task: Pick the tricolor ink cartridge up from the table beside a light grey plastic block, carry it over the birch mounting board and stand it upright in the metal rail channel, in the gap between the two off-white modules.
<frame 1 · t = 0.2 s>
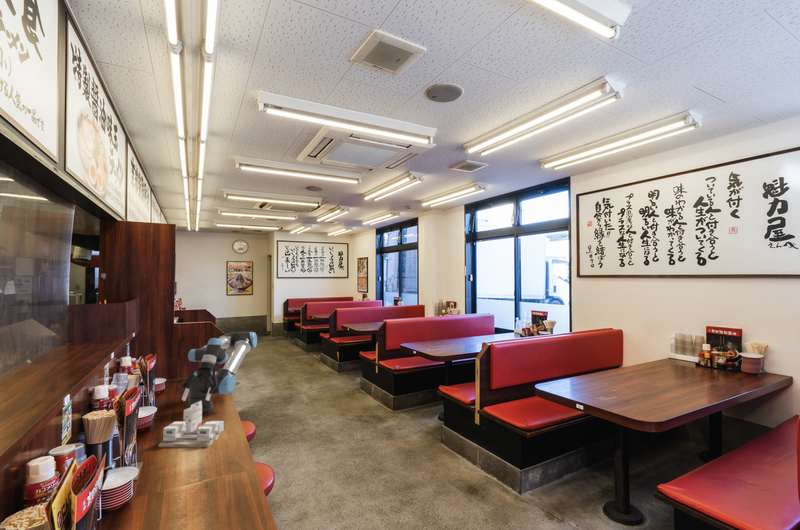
hand: (195, 400, 203), 15 cm above the counter, tool tilted 35°, fingers open, 13 cm apart
ink cartridge box: (192, 429, 201), on the counter
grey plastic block: (214, 432, 198), on the counter
mounting board: (191, 441, 186), on the counter
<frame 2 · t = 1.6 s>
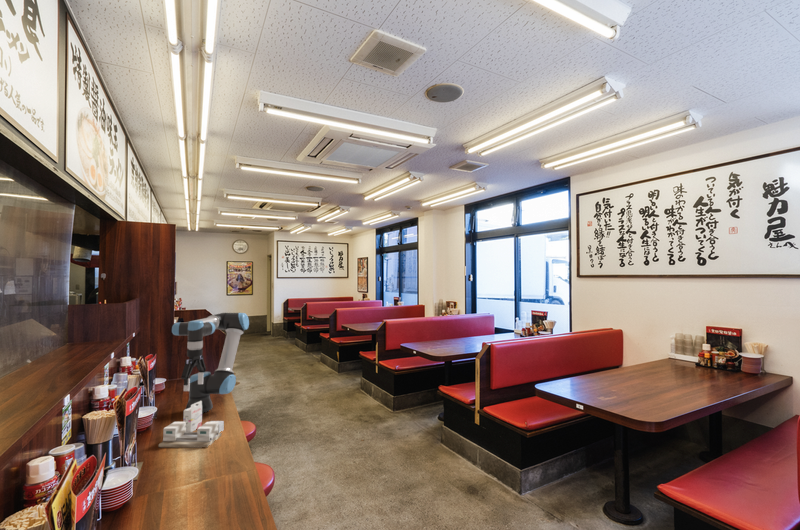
hand: (193, 387, 202), 23 cm above the counter, tool pointing down, fingers open, 13 cm apart
nothing on the counter moved.
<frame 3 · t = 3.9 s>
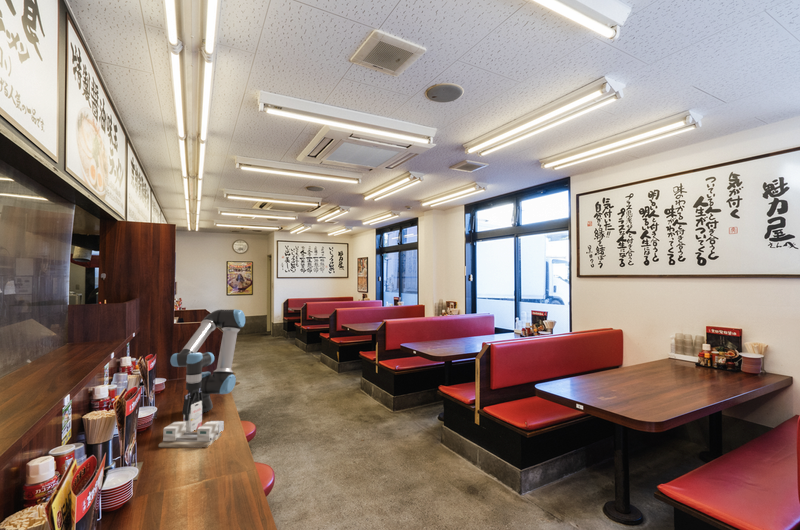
hand: (192, 422, 201), 4 cm above the counter, tool pointing down, fingers closed on ink cartridge box, 9 cm apart
ink cartridge box: (192, 429, 201), on the counter, touching gripper
everything else where it was.
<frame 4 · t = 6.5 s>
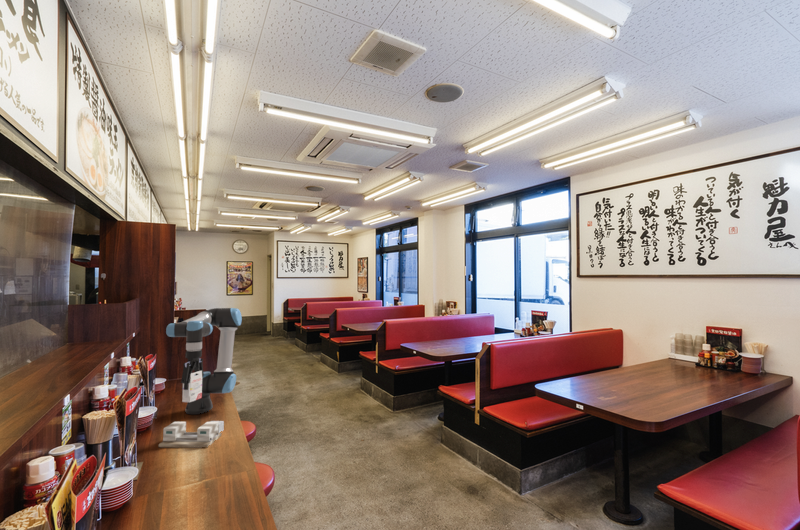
hand: (192, 393, 193), 22 cm above the counter, tool pointing down, fingers closed on ink cartridge box, 9 cm apart
ink cartridge box: (191, 400, 193), point 19 cm above the counter, touching gripper
everything else where it was.
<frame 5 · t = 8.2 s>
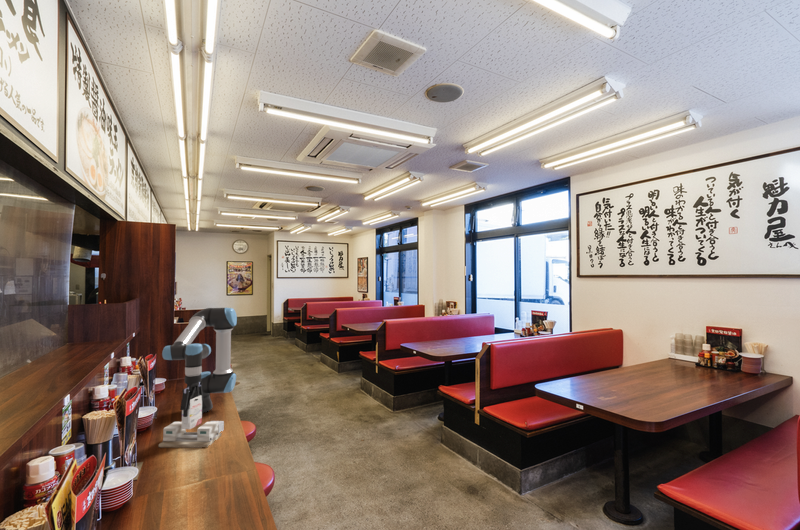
hand: (191, 419, 187), 11 cm above the counter, tool pointing down, fingers closed on ink cartridge box, 9 cm apart
ink cartridge box: (191, 426, 187), point 7 cm above the counter, touching gripper
everything else where it was.
when the fingers open (7 cm above the counter, at t = 9.5 s): ink cartridge box stays where it is, resting on mounting board.
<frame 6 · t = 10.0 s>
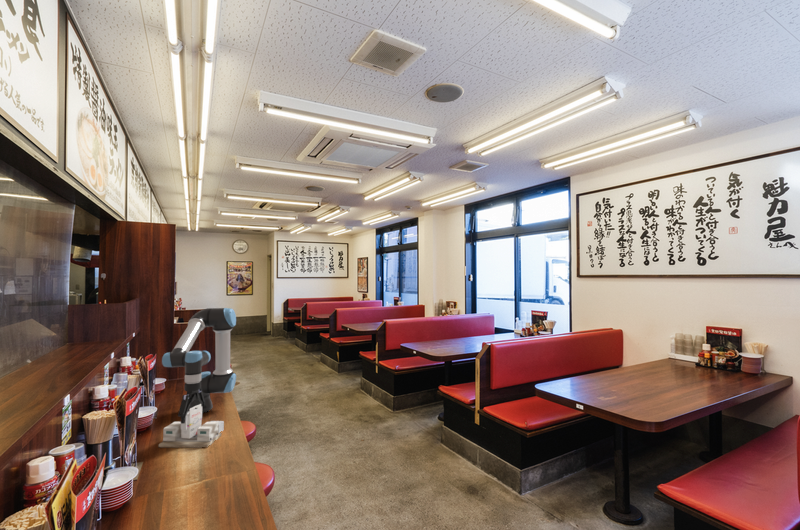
hand: (191, 424, 187), 9 cm above the counter, tool pointing down, fingers open, 13 cm apart
ink cartridge box: (191, 435, 186), point 3 cm above the counter, touching mounting board
everything else where it was.
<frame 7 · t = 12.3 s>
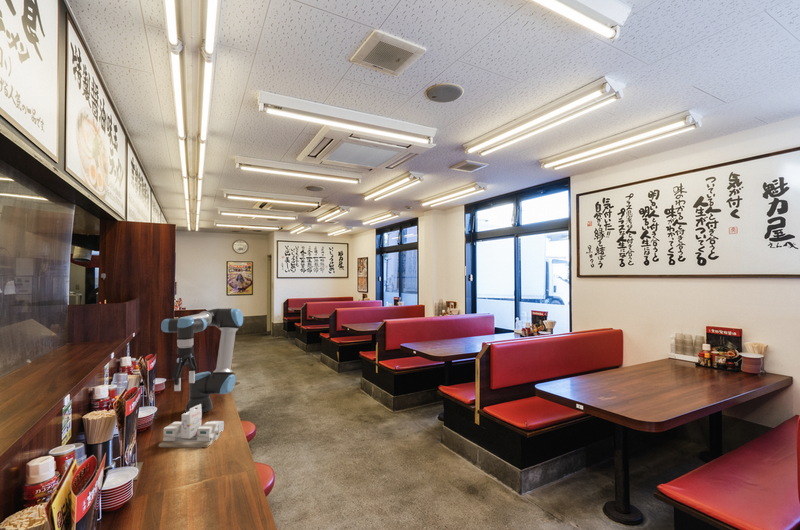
hand: (184, 386, 194), 25 cm above the counter, tool pointing down, fingers open, 13 cm apart
nothing on the counter moved.
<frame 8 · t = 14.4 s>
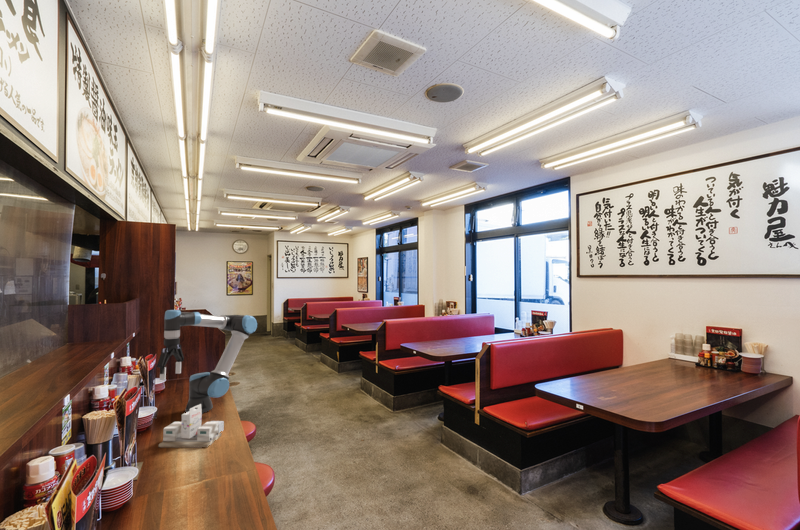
hand: (170, 376, 203), 29 cm above the counter, tool pointing down, fingers open, 13 cm apart
nothing on the counter moved.
at the end: ink cartridge box 0.1 cm off-centre on the mounting board, point 2.9 cm above the mounting board's base; ink cartridge box tilted 0°; the gripper is holding nothing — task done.
